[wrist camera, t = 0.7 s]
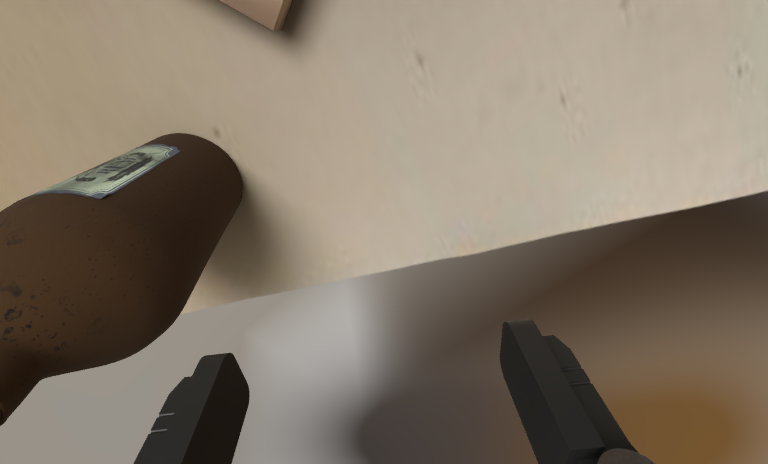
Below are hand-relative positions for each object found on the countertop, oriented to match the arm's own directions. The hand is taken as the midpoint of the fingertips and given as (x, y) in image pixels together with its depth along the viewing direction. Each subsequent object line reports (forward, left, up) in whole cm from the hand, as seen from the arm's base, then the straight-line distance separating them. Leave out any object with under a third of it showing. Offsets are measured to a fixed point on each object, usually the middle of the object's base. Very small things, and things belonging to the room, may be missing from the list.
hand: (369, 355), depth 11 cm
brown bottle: (+12, -12, -26) cm, 31 cm away
